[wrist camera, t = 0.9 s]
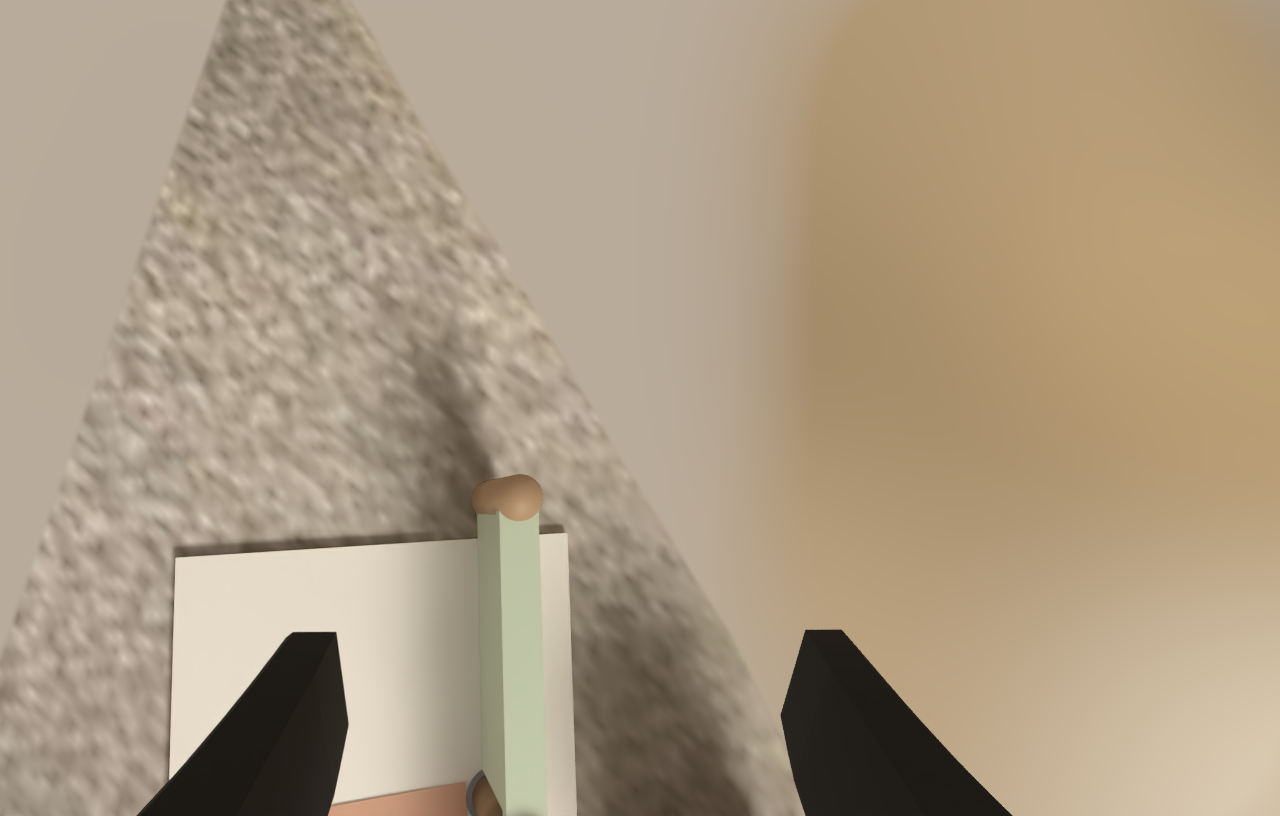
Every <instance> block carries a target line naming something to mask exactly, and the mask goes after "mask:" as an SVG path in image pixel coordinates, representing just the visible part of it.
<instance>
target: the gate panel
mask: <svg viewBox="0 0 1280 816" xmlns="http://www.w3.org/2000/svg"><path fill="white" fill-rule="evenodd" d="M542 502H543V493H542V489H541V487H540V485H539V484H538V482H537V481H536V480H535V479H533V478H532V477H530V476H527V475H523V474H518V475H513V476H508V477H503V478H498V479H494V480H489V481H485V482H482V483H480V484H479V485H478V486H477V487H476V488H475V489H474V491H473V493H472V497H471V504H472V507H473V509H474V511H475V512H476V513H477V540H478V591H479V642H480V694H481V745H482V770H483V772H484V774H485V776H486V778H487V780H488V782H489V784H490V786H491V788H492V790H493V792H494V794H495V796H496V798H497V800H498V802H499V804H500V806H501V808H502V811H503V816H548V812H547V778H546V744H545V710H544V676H543V642H542V608H541V574H540V540H539V510H540V508H541V506H542Z"/></svg>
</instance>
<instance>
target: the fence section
mask: <svg viewBox="0 0 1280 816" xmlns="http://www.w3.org/2000/svg"><path fill="white" fill-rule="evenodd" d="M472 803H473V807H474V809H475V812H476V814H477V816H503V811H502V808H501V806H500V804H499V802H498V800H497V798H496V796H495V794H494V792H493V790H492V788H491V786H490V784H489V782H488V780H487V778H486V776H485V775H484V776H483V777H481V778H480V779H479V781H478V782H477V783H476V785H475V787H474V790H473V793H472Z"/></svg>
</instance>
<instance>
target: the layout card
mask: <svg viewBox="0 0 1280 816" xmlns="http://www.w3.org/2000/svg"><path fill="white" fill-rule="evenodd" d="M539 540H540V574H541V608H542V642H543V676H544V710H545V744H546V778H547V812H548V816H577V802H576V772H575V743H574V713H573V684H572V654H571V624H570V595H569V565H568V536H567V533H552V534H539ZM292 632H336V633H337V640H338V648H339V655H340V662H341V670H342V677H343V685H344V692H345V699H346V707H347V714H348V722H349V726H348V731H347V736H346V741H345V746H344V751H343V756H342V761H341V766H340V771H339V776H338V780H337V785H336V789H335V794H334V798H333V801H332V804H331V808H330V811H329V814H328V816H477V814H476V812H475V809H474V807H473V803H472V793H473V790H474V787H475V785H476V783H477V782H478V781H479V779H480V778H481V777H483V776H484V775H485V774H484V772H483V770H482V745H481V694H480V642H479V591H478V540H477V538H473V539H458V540H442V541H426V542H410V543H395V544H379V545H363V546H347V547H332V548H316V549H300V550H284V551H269V552H253V553H237V554H221V555H206V556H190V557H177V558H176V561H175V596H174V630H173V665H172V700H171V735H170V770H169V780H170V779H171V778H172V777H173V776H174V775H175V773H176V772H177V771H178V770H179V769H180V768H181V767H182V766H183V764H184V763H185V762H186V761H187V760H188V759H189V757H190V756H191V755H192V754H193V753H194V751H195V750H196V749H197V748H198V747H199V746H200V744H201V743H202V742H203V741H204V740H205V739H206V737H207V736H208V735H209V734H210V733H211V731H212V730H213V729H214V728H215V727H216V726H217V724H218V723H219V722H220V721H221V720H222V719H223V717H224V716H225V715H226V714H227V712H228V711H229V710H230V709H231V707H232V706H233V705H234V704H235V703H236V701H237V700H238V699H239V698H240V696H241V695H242V694H243V693H244V691H245V690H246V689H247V688H248V686H249V685H250V684H251V682H252V681H253V680H254V679H255V677H256V676H257V675H258V674H259V672H260V671H261V670H262V668H263V667H264V666H265V664H266V663H267V662H268V660H269V659H270V658H271V657H272V655H273V654H274V653H275V651H276V650H277V649H278V647H279V646H280V645H281V643H282V642H283V641H284V639H285V638H286V637H287V636H288V635H290V634H291V633H292Z"/></svg>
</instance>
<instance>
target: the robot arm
mask: <svg viewBox="0 0 1280 816" xmlns="http://www.w3.org/2000/svg"><path fill="white" fill-rule="evenodd" d="M781 720H782V725H783V730H784V735H785V740H786V745H787V750H788V755H789V759H790V764H791V768H792V773H793V777H794V781H795V785H796V788H797V791H798V794H799V797H800V800H801V803H802V806H803V809H804V812H805V815H806V816H1012V815H1011V814H1010V813H1009V812H1008V811H1007V810H1006V809H1005V808H1004V807H1003V806H1002V805H1001V804H1000V803H999V802H998V801H997V800H996V799H995V798H994V797H993V796H992V795H991V794H990V793H989V792H988V791H987V790H986V789H985V788H984V787H983V786H982V785H981V784H980V783H979V782H978V781H977V780H976V779H975V778H974V777H973V776H972V775H971V774H970V773H969V772H968V771H967V770H966V769H965V768H964V767H963V766H962V765H961V764H960V763H959V762H958V761H957V760H956V759H955V758H954V757H953V755H951V753H950V752H949V751H948V750H947V749H946V748H945V747H944V746H943V745H942V743H941V742H940V741H939V740H938V739H937V738H936V737H935V736H934V735H933V734H932V733H931V731H930V730H929V729H928V728H927V727H926V726H925V725H924V724H923V723H922V722H921V721H920V719H919V718H918V717H917V716H916V715H915V714H914V713H913V711H912V710H911V709H910V708H909V707H908V706H907V705H906V704H905V703H904V701H903V700H902V699H901V698H900V697H899V696H898V694H897V693H896V692H895V691H894V690H893V689H892V687H891V686H890V685H889V684H888V683H887V682H886V681H885V679H884V678H883V677H882V676H881V675H880V674H879V673H878V671H877V670H876V669H875V668H874V667H873V665H872V664H871V663H870V662H869V661H868V660H867V659H866V658H865V656H864V655H863V654H862V653H861V651H860V650H859V649H858V648H857V647H856V646H855V645H854V644H853V642H852V641H851V640H850V639H849V638H848V636H846V634H845V633H844V632H843V631H842V630H805V633H804V637H803V640H802V644H801V647H800V650H799V654H798V657H797V661H796V664H795V668H794V671H793V675H792V678H791V681H790V685H789V688H788V692H787V695H786V698H785V702H784V705H783V709H782V712H781ZM348 726H349V722H348V714H347V707H346V699H345V692H344V685H343V677H342V670H341V662H340V655H339V648H338V640H337V633H336V632H292V633H291V634H290V635H288V636H287V637H286V638H285V639H284V641H283V642H282V643H281V645H280V646H279V647H278V649H277V650H276V651H275V653H274V654H273V655H272V657H271V658H270V659H269V660H268V662H267V663H266V664H265V666H264V667H263V668H262V670H261V671H260V672H259V674H258V675H257V676H256V677H255V679H254V680H253V681H252V682H251V684H250V685H249V686H248V688H247V689H246V690H245V691H244V693H243V694H242V695H241V696H240V698H239V699H238V700H237V701H236V703H235V704H234V705H233V706H232V707H231V709H230V710H229V711H228V712H227V714H226V715H225V716H224V717H223V719H222V720H221V721H220V722H219V723H218V724H217V726H216V727H215V728H214V729H213V730H212V731H211V733H210V734H209V735H208V736H207V737H206V739H205V740H204V741H203V742H202V743H201V744H200V746H199V747H198V748H197V749H196V750H195V751H194V753H193V754H192V755H191V756H190V757H189V759H188V760H187V761H186V762H185V763H184V764H183V766H182V767H181V768H180V769H179V770H178V771H177V772H176V773H175V775H174V776H173V777H172V778H171V779H170V780H169V781H168V782H167V783H166V784H165V786H164V787H163V788H162V789H161V790H160V791H159V792H158V793H157V794H156V795H155V796H154V797H153V799H152V800H151V801H150V802H149V803H148V804H147V805H146V806H145V807H144V808H143V809H142V810H141V812H140V813H139V814H138V815H137V816H328V814H329V811H330V808H331V804H332V801H333V798H334V794H335V789H336V785H337V780H338V776H339V771H340V766H341V761H342V756H343V751H344V746H345V741H346V736H347V731H348Z"/></svg>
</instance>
